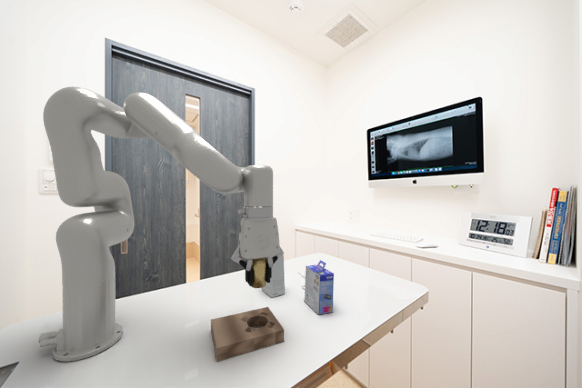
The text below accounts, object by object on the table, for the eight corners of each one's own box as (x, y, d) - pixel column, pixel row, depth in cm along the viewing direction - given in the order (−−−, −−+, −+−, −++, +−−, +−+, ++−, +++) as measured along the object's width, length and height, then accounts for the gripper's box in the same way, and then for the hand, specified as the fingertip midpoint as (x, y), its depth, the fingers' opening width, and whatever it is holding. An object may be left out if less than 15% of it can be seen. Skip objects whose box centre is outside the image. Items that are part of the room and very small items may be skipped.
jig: (216, 361, 49) (216, 348, 49) (210, 330, 60) (211, 319, 60) (284, 341, 56) (284, 329, 56) (267, 316, 67) (268, 306, 67)
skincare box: (285, 294, 81) (285, 253, 81) (270, 298, 78) (270, 255, 78) (273, 286, 88) (274, 248, 88) (259, 289, 85) (260, 250, 85)
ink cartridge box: (334, 312, 70) (334, 265, 69) (318, 316, 67) (319, 268, 67) (318, 298, 79) (318, 257, 78) (304, 301, 76) (304, 258, 76)
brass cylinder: (253, 289, 56) (253, 261, 56) (249, 283, 60) (249, 257, 60) (268, 286, 58) (268, 259, 58) (263, 280, 62) (263, 255, 61)
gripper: (228, 215, 52) (228, 294, 52) (293, 213, 59) (293, 282, 59) (223, 212, 58) (223, 282, 59) (282, 210, 66) (282, 273, 66)
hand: (258, 281), depth 59 cm, fingers closed on brass cylinder, 4 cm apart
